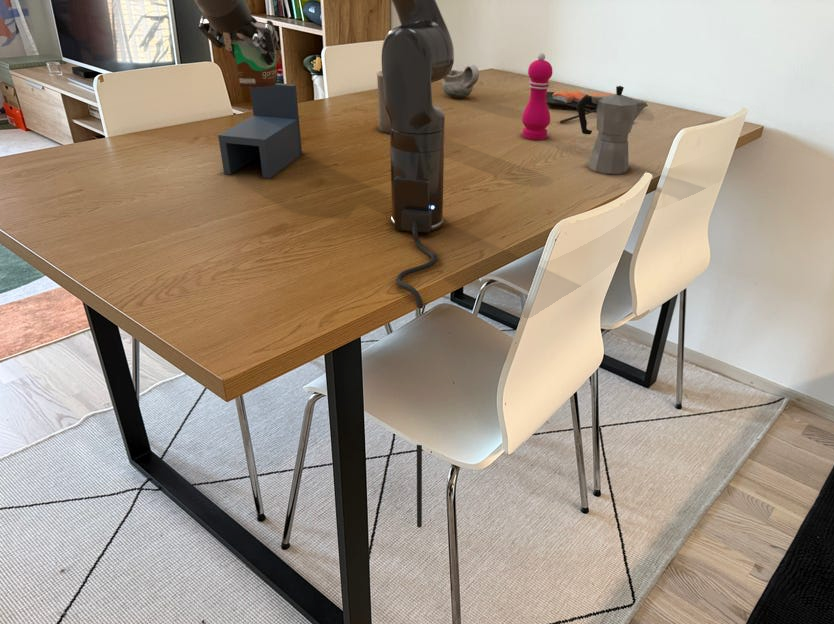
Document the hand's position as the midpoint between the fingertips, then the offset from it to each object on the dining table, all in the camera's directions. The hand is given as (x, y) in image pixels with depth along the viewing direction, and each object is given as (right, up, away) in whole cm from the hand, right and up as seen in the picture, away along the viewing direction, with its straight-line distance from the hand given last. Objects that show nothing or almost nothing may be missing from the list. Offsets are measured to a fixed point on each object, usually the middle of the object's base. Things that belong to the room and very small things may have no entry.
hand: (256, 59), depth 136 cm
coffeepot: (+72, -14, +25) cm, 77 cm away
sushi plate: (+74, +14, +69) cm, 102 cm away
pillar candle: (+22, +1, +45) cm, 50 cm away
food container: (0, -3, +4) cm, 5 cm away
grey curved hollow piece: (+38, +21, +78) cm, 89 cm away
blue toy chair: (-4, -15, +17) cm, 23 cm away
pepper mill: (+57, -1, +45) cm, 73 cm away
